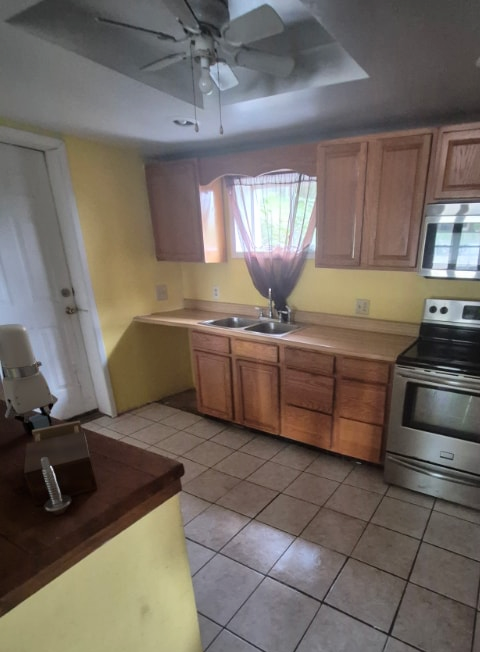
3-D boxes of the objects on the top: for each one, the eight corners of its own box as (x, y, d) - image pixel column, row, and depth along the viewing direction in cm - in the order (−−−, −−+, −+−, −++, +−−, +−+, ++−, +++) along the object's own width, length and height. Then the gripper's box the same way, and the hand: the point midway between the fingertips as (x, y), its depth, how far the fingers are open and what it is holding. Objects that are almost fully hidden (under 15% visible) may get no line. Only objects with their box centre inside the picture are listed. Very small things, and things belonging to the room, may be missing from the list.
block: (36, 434, 106) (33, 422, 104) (28, 431, 107) (24, 419, 106) (50, 428, 109) (47, 416, 107) (42, 425, 111) (38, 413, 109)
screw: (54, 522, 73) (41, 513, 76) (78, 508, 77) (65, 500, 79) (36, 466, 68) (23, 459, 70) (63, 454, 72) (49, 448, 74)
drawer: (39, 445, 99) (32, 422, 96) (83, 435, 104) (78, 413, 101) (38, 477, 85) (30, 452, 82) (89, 464, 90) (83, 440, 88)
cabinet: (37, 475, 88) (26, 443, 84) (91, 461, 94) (84, 431, 90) (35, 507, 77) (24, 472, 74) (97, 489, 83) (89, 456, 80)
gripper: (43, 360, 109) (59, 416, 117) (-22, 377, 95) (0, 439, 103) (60, 364, 106) (74, 421, 114) (-5, 382, 92) (16, 445, 100)
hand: (39, 429), depth 108 cm, fingers closed on block, 4 cm apart
